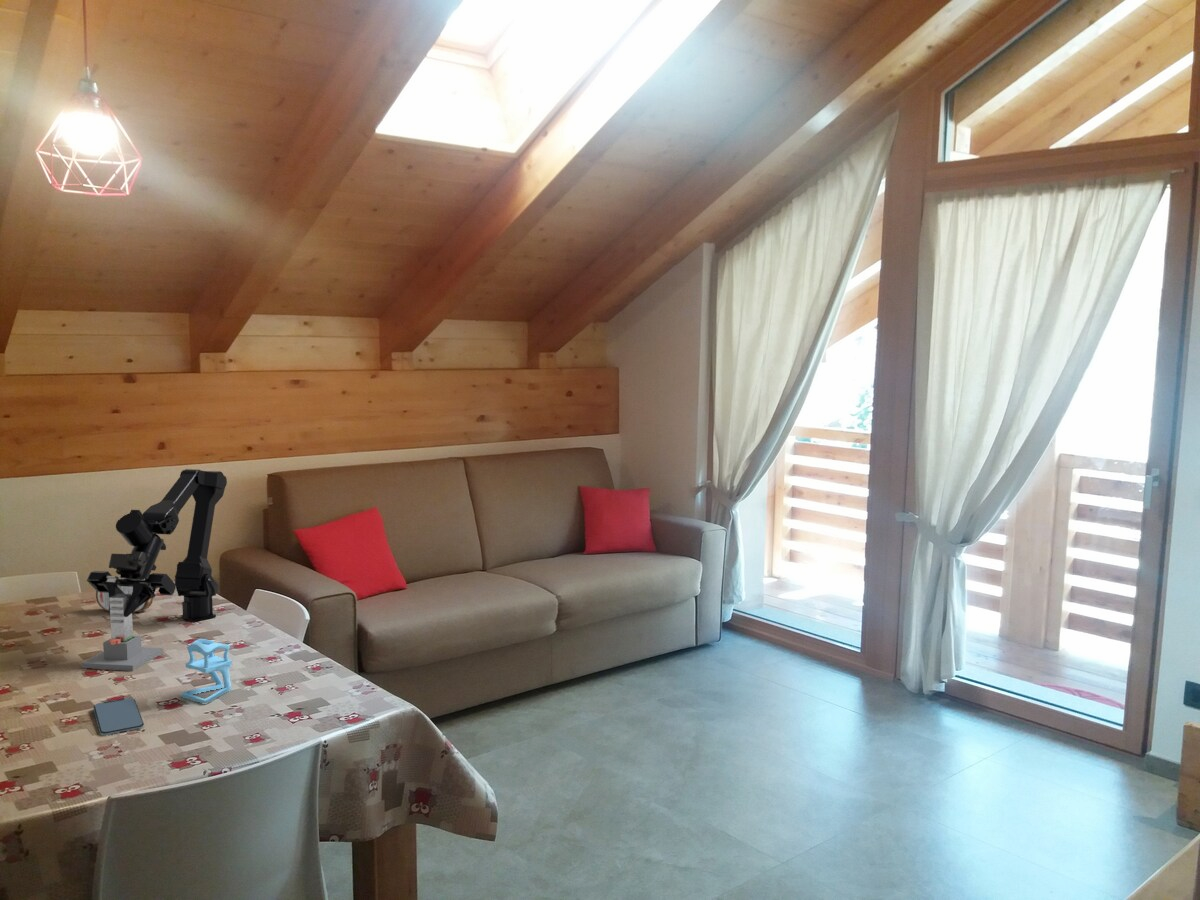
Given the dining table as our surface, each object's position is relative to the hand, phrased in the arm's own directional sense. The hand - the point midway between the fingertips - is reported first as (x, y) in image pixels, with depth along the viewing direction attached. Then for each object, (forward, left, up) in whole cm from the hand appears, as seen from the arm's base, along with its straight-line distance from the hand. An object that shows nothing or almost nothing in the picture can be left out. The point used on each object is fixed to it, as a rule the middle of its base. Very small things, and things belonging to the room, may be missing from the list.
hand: (117, 615), depth 212 cm
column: (-1, -1, -6) cm, 6 cm away
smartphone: (+15, +31, -12) cm, 37 cm away
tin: (-19, -39, -11) cm, 45 cm away
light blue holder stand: (-3, +33, -11) cm, 35 cm away
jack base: (-1, -1, -11) cm, 11 cm away
